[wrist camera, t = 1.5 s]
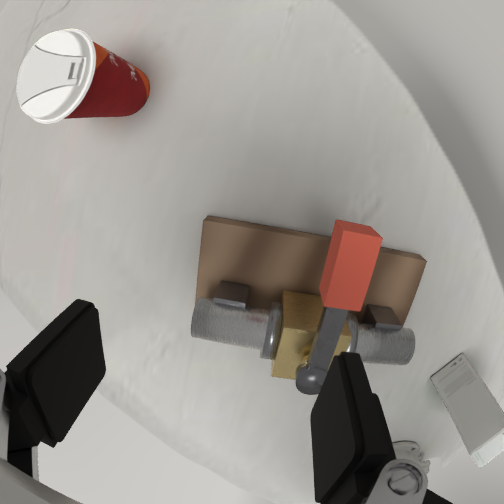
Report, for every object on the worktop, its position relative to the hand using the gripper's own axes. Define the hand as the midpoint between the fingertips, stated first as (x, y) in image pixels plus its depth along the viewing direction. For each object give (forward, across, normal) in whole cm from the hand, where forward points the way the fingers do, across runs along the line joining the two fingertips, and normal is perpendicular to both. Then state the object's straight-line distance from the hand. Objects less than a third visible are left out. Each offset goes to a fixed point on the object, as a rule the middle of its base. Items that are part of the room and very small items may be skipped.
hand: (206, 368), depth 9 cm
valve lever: (+13, -7, +4) cm, 16 cm away
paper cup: (+24, +16, -11) cm, 31 cm away
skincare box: (+24, -34, +19) cm, 46 cm away
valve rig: (+24, -7, +8) cm, 26 cm away
